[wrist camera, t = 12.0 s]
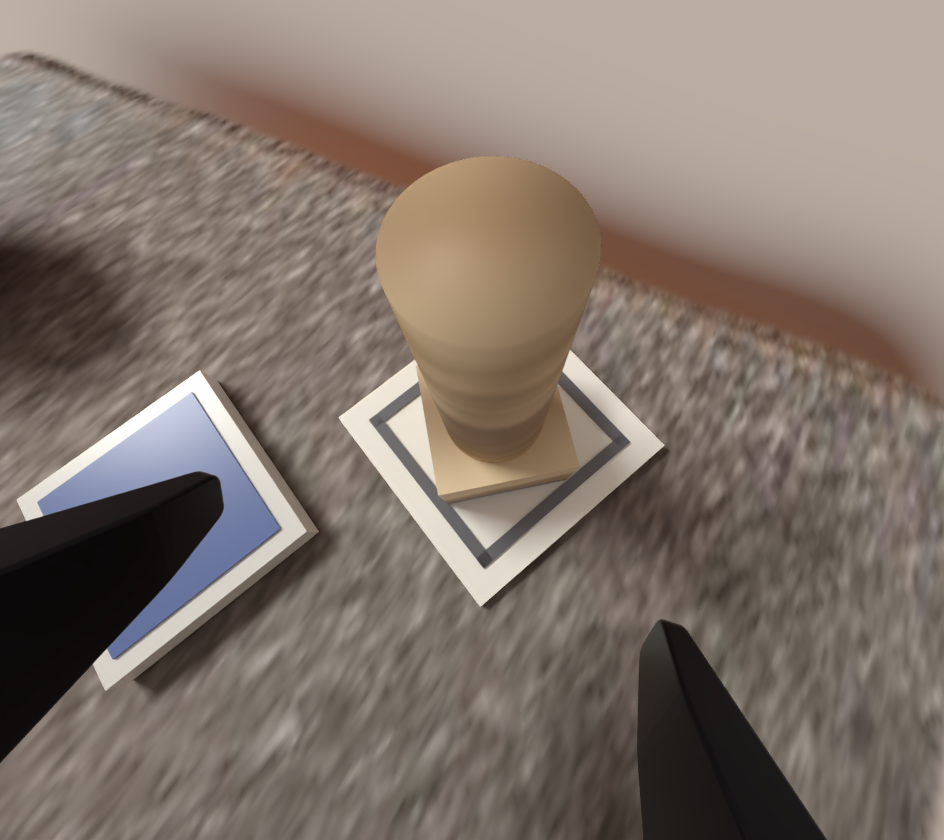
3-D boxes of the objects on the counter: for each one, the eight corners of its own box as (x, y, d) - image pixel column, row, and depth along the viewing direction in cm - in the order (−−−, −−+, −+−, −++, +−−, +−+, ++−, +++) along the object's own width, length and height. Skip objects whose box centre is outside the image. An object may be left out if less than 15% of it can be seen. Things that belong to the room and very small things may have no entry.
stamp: (566, 479, 17) (694, 351, 6) (448, 504, 18) (350, 422, 6) (537, 370, 19) (596, 100, 7) (428, 393, 19) (320, 157, 8)
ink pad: (319, 531, 18) (305, 531, 17) (132, 680, 17) (102, 692, 15) (216, 380, 20) (198, 369, 19) (45, 502, 19) (13, 499, 18)
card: (661, 446, 18) (665, 445, 18) (480, 605, 17) (480, 607, 16) (508, 291, 20) (509, 287, 20) (340, 419, 19) (337, 417, 19)
